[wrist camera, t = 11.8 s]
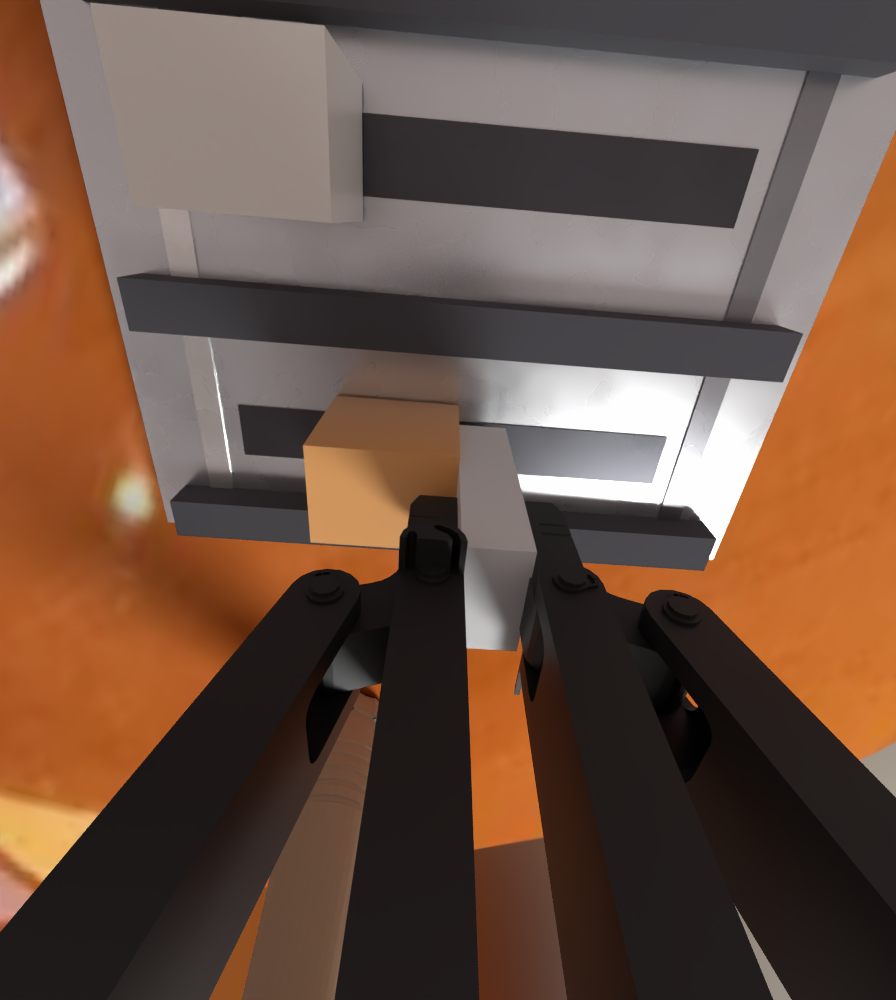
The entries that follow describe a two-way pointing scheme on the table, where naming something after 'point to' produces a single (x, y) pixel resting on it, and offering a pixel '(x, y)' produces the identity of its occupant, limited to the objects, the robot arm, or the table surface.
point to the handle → (315, 876)
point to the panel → (510, 255)
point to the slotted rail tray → (504, 326)
